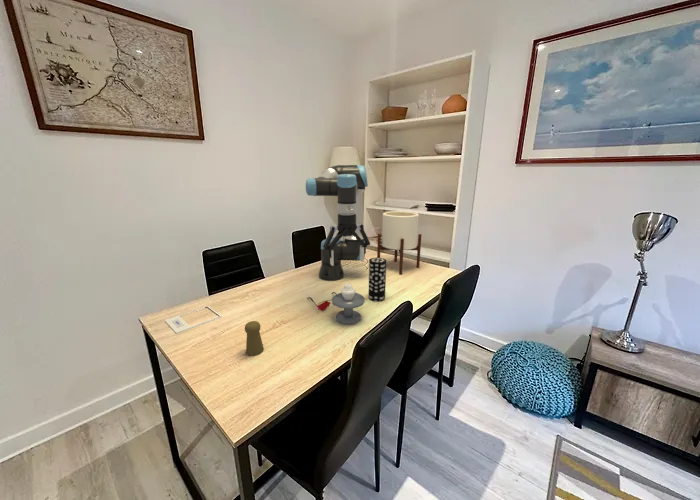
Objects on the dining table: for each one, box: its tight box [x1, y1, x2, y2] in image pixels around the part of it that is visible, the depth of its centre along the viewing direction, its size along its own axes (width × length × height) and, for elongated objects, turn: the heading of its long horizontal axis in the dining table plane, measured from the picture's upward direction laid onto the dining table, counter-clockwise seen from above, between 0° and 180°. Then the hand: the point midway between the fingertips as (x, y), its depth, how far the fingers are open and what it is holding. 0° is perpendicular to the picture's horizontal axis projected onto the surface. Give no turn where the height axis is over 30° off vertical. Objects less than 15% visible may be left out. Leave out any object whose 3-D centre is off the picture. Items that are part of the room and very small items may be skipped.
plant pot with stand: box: [376, 210, 422, 276], centre depth 183 cm, size 22×22×36 cm
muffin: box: [340, 283, 357, 300], centre depth 120 cm, size 6×6×7 cm
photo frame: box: [164, 305, 223, 335], centre depth 122 cm, size 15×1×18 cm
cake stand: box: [331, 292, 366, 325], centre depth 122 cm, size 14×14×9 cm
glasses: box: [306, 291, 337, 312], centre depth 137 cm, size 14×16×5 cm
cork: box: [244, 320, 265, 357], centre depth 99 cm, size 6×6×11 cm
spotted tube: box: [368, 257, 387, 303], centre depth 140 cm, size 8×8×20 cm
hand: (347, 262), depth 122 cm, fingers open, 13 cm apart
